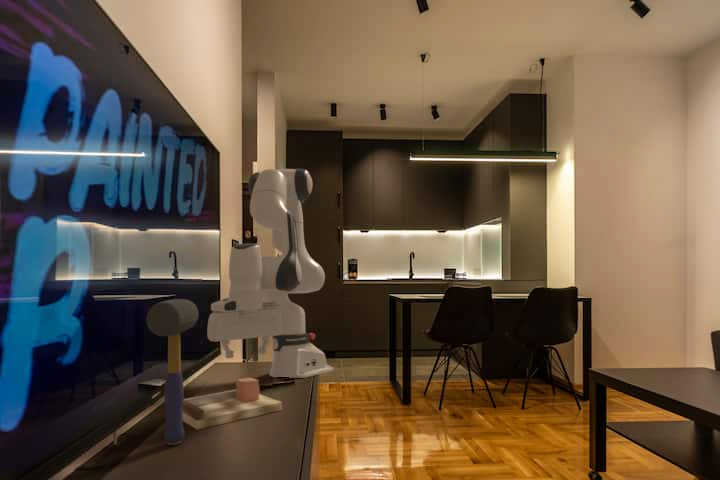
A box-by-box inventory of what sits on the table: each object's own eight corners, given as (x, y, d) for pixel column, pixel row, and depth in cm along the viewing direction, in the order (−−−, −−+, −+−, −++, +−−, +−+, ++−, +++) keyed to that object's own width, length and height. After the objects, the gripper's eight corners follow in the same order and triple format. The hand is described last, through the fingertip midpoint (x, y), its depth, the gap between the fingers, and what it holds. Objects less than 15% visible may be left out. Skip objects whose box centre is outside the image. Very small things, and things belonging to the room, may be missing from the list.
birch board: (256, 400, 134) (256, 385, 135) (282, 410, 123) (281, 394, 124) (176, 416, 120) (176, 400, 121) (197, 429, 110) (196, 411, 110)
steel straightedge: (256, 392, 134) (256, 385, 135) (259, 393, 133) (259, 386, 133) (176, 408, 121) (176, 400, 121) (178, 409, 119) (178, 401, 120)
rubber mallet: (180, 454, 94) (180, 300, 97) (142, 455, 94) (143, 301, 97) (202, 433, 107) (201, 297, 109) (168, 434, 107) (168, 298, 109)
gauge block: (250, 396, 131) (250, 377, 131) (258, 399, 127) (258, 380, 127) (236, 398, 128) (236, 379, 129) (244, 402, 125) (244, 382, 125)
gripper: (274, 301, 138) (275, 350, 137) (204, 304, 126) (204, 359, 124) (285, 301, 133) (286, 352, 132) (214, 305, 121) (214, 361, 119)
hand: (246, 355), depth 128 cm, fingers open, 8 cm apart
